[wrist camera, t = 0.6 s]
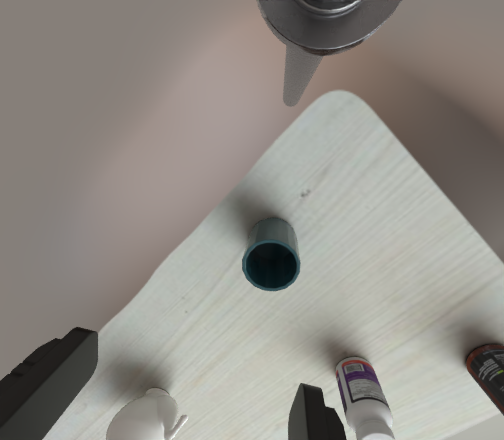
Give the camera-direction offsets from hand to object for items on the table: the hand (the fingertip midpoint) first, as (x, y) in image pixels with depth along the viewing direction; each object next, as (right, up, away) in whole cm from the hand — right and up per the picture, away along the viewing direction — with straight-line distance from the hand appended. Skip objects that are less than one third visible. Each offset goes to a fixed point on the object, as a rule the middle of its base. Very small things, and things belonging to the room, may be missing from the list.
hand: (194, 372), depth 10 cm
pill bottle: (+17, -16, +28) cm, 36 cm away
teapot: (-14, -24, +34) cm, 44 cm away
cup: (+5, +3, +23) cm, 23 cm away
